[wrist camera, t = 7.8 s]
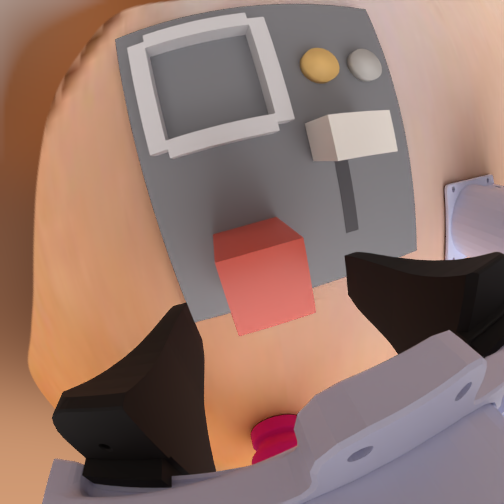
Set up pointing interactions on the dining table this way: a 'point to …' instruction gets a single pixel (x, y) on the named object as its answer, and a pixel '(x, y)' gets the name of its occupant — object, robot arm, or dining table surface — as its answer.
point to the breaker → (351, 135)
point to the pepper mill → (273, 437)
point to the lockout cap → (264, 274)
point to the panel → (263, 137)
